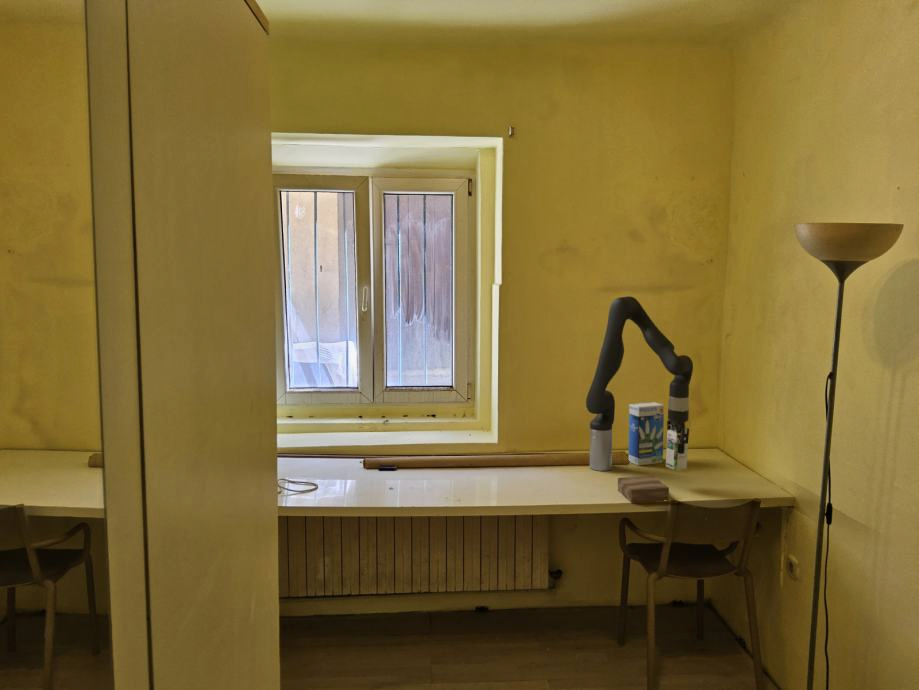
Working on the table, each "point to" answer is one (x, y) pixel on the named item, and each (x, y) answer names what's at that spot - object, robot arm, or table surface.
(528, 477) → the table surface
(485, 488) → the table surface
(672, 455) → the syrup box
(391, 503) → the table surface
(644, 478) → the walnut block
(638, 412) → the string lights box
